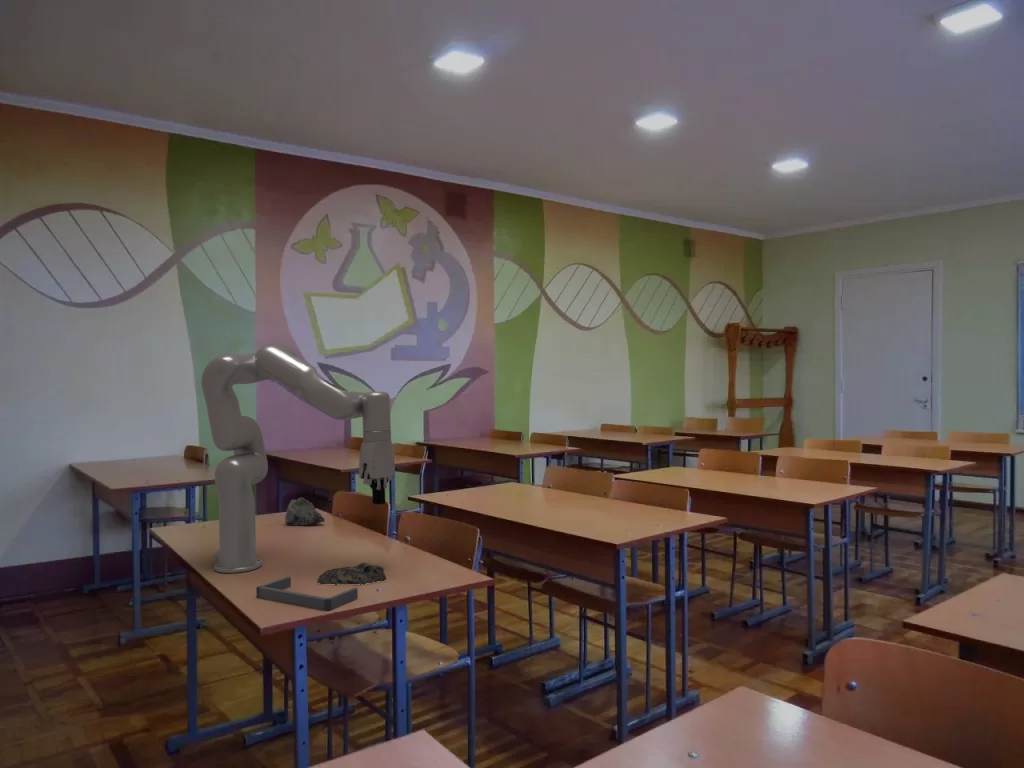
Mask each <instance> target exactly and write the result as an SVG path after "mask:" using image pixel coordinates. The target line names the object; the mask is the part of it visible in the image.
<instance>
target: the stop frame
mask: <svg viewBox="0 0 1024 768" xmlns="http://www.w3.org/2000/svg"><path fill="white" fill-rule="evenodd" d="M290 586H291V587H292V577H291V576H286V577H282V578H280V579H277V580H273V581H271V582H268V583H264V584H261V585H259V586H256V588H255V589H256V590H255V591H256V596H255V597H256V598H257V599H263V600H267V599H268V600H269V601H273V600H274V602H278V603H279V602H280V603H283V602H284V603H285V604H288V603H289V604H290V605H293V604H294V605H295V606H298V605H299V606H298V607H304V608H309V609H315V610H320V611H325V612H329V611H332V610H334V609H337V608H338V607H341V606H344V605H346V604H348V603H350V602H353V601H355V599H356V600H358V599H357V598H358V594H359V593H358V592H359V591H358V589H359V588H357V587H353V588H350V589H348V590H345V591H343V592H339V593H338V594H335V595H332V596H330V597H323V596H319V595H317V596H316V595H313V594H308V593H303V592H302V593H301V592H296V591H290V590H285V589H284V588H286V589H288V588H287V587H289V588H291V587H290ZM282 589H283V590H282ZM289 604H288V605H289Z"/></svg>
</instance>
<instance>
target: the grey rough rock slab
mask: <svg viewBox="0 0 1024 768" xmlns="http://www.w3.org/2000/svg"><path fill="white" fill-rule="evenodd" d="M384 580H386V581H387V576H386V574H385V572H384V568H383V567H382V566H380V565H375V564H370V563H367V562H361V563H358V564H356V565H354V566H353V567H352V566H345V567H344V566H343V567H336V568H331V569H327V570H326V571H324V572H323V573H321V574H320V575H318V578H317V580H316V581H317V584H318V583H320V584H319V585H322V584H335V585H334V586H338V585H337V584H360V585H361V584H366V583H373V582H377V581H384ZM384 582H385V581H384Z"/></svg>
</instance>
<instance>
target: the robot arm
mask: <svg viewBox="0 0 1024 768" xmlns="http://www.w3.org/2000/svg"><path fill="white" fill-rule="evenodd" d="M271 379H273V380H275V381H277V382H278V383H280V384H281V385H283V386H285V387H287V388H289V390H291V391H294V392H295V393H297V394H298V395H299V396H300V397H301V399H303V400H304V401H305V402H306V403H308V404H309V405H310V406H311V407H313V408H315V409H316V410H318V411H320V412H321V413H322V414H325V415H327V416H328V417H329V418H331V419H335V420H337V421H346V420H353V419H358V418H362V442H361V445H360V448H359V458H358V460H359V461H358V476H359V479H361V480H363V482H362V485H365V486H367V485H368V486H369V487H370V490H371V492H372V494H371V495H372V504H373V505H383V504H386V489H387V486H388V485H387V484H388V483H389V482H390V481H392V480H393V477H394V474H395V471H396V470H395V469H396V465H395V453H394V452H395V451H394V447H393V446H394V445H393V442H392V431H391V425H392V423H391V397H390V395H389V393H388V392H387V391H369V392H361V391H342V390H339V389H338V388H336V387H334V386H333V385H332V384H329V383H328V382H326V381H325V380H323V379H322V378H321V377H320V376H319V374H318V370H317V368H316V367H315V366H314V365H312V364H310V363H309V362H307V361H304V360H303V359H302V358H300V357H298V354H297V353H296V351H295V350H294V349H293V348H291V347H290V346H288V345H283V344H266V345H265V344H264V345H263V346H261V347H260V348H259V349H258V350H257V351H256V352H253V353H250V354H236V353H228V354H227V353H226V354H222V355H221V354H220V355H219V356H216V357H214V358H213V359H211V360H210V361H209V362H208V363H207V364H206V366H205V368H204V370H203V371H202V375H201V381H200V382H201V383H200V384H201V389H202V393H203V397H204V401H205V405H206V409H207V416H208V417H207V418H208V421H209V427H210V432H211V433H210V434H211V437H212V440H213V441H212V442H213V444H214V446H215V447H216V448H217V449H218V450H219V451H220V450H221V451H223V452H229V451H230V452H233V455H230V456H227V457H225V458H224V459H222V460H220V462H219V463H218V464H217V465H216V468H215V471H214V481H215V486H216V491H217V497H218V498H217V500H218V527H219V531H218V532H219V537H218V538H219V549H218V550H216V552H214V553H213V555H212V557H213V558H215V559H217V562H216V563H215V564H214V565H213V568H214V569H213V570H214V571H215V572H217V573H222V574H223V573H224V574H226V573H227V574H235V573H237V574H238V573H244V572H248V571H253V570H255V569H259V568H261V566H263V561H262V560H261V559H260V558H257V545H256V543H257V540H256V537H257V531H256V503H255V496H254V492H253V489H252V486H253V485H255V484H259V483H260V482H262V481H263V480H264V479H265V478H266V476H267V474H268V471H269V470H268V469H269V465H268V458H267V454H266V447H265V442H264V437H263V433H262V430H261V426H260V425H259V423H258V422H257V420H255V419H254V418H252V417H250V416H247V415H242V412H241V408H240V403H239V398H238V397H237V394H236V393H235V391H234V389H233V386H234V385H244V384H245V385H249V384H254V383H258V382H263V381H266V380H271Z"/></svg>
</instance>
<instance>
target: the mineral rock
mask: <svg viewBox="0 0 1024 768" xmlns="http://www.w3.org/2000/svg"><path fill="white" fill-rule="evenodd" d="M286 508H287V509H286V513H285V518H284V519H285V521H284V522H285V525H287V526H300V525H301V526H311V525H316V524H321V523H324V522H325V521H326V520H325V517H323V515H322V514H321V513H320V512H319V511H318V510H316V508H315V506H314V504H313V502H311V501H309V500H307V499H305V498H304V497H298V498H297V499H291V500H290V502H289V504H288V506H287V507H286Z"/></svg>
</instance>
